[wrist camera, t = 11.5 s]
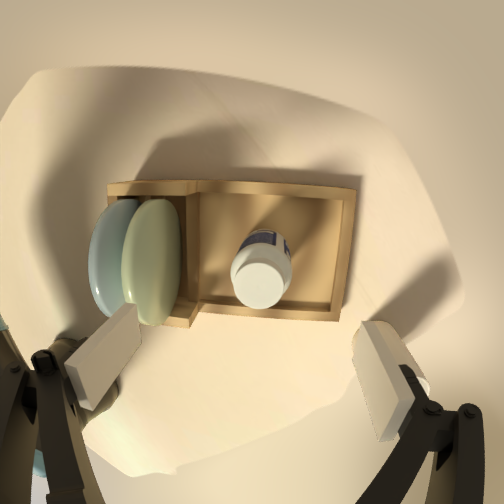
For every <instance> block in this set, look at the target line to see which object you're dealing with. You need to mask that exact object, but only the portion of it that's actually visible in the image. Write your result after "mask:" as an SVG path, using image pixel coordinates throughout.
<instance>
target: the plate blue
mask: <svg viewBox="0 0 504 504" xmlns="http://www.w3.org/2000/svg"><path fill="white" fill-rule="evenodd" d="M141 205H142V203H141V202H140V201H138V200H134V199H121V200H117V201H114V202H113V203H111V204H110V205H109V206H108V207H107V208H106V209H105V210H104V211H103V213H102V214H101V216H100V218H99V219H98V221H97V224H96V226H95V228H94V231H93V234H92V238H91V242H90V248H89V256H88V274H89V282H90V287H91V291H92V295H93V297H94V300H95V302H96V304H97V306H98V307H99V309H100V310H101V311H102V313H103V314H105V315H106V316H107V317H109V318H110V317H111V316H112V315H113V314H114V313H115V312H116V311H117V310H118V309H119V308H120V307H121V306H122V305H123V304H124V303H125V302H126V301H125V298H124V293H123V287H122V277H121V263H122V252H123V246H124V241H125V236H126V233H127V230H128V227H129V224H130V222H131V220H132V218H133V216H134V214H135V212H136V211H137V209H138V208H139V207H140V206H141Z"/></svg>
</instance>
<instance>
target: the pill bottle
mask: <svg viewBox="0 0 504 504" xmlns="http://www.w3.org/2000/svg"><path fill="white" fill-rule="evenodd" d="M230 274H231V280H232V283H233V286H234V291H235V294H236V296H237V298H238V299H239V300H240V301H241V302H242V303H243V304H244V305H246V306H248V307H250V308H254V309H265V308H269V307H271V306H273V305H274V304H276V303H277V302H278V301H279V300H280V298H281V297H282V295H283V294H284V293H285V292H286V290H287V289H288V287H289V285H290V283H291V279H292V265H291V256H290V249H289V246H288V243H287V241H286V240H285V238H284V237H283V236H282V235H281V234H279V233H278V232H276V231H274V230H270V229H259V230H256V231H253V232H252V233H250V234H249V235H248V236H247V237H246V238H245V239H244V241H243V242H242V244H241V246H240V248H239V250H238V252H237V254H236V256H235V258H234V260H233V262H232V265H231V273H230Z"/></svg>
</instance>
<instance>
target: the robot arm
mask: <svg viewBox="0 0 504 504" xmlns="http://www.w3.org/2000/svg"><path fill="white" fill-rule="evenodd" d="M8 329H9V327H8V326H7V325H6V324H5V322H4V320H3V318H2V316H1V314H0V504H31V485H32V473H33V474H35V475H37V476H40V477H44V478H45V477H47V481H48V485H49V490H50V493H49V494H46V502H47V504H105V502H104V499H103V497H102V494H101V492H100V489H99V486H98V484H97V481H96V478H95V476H94V473H93V470H92V467H91V463H90V460H89V457H88V454H87V451H86V447H85V444H84V440H83V436H82V433H81V432H82V430H83V429H84V427H85V426H86V424H87V423H88V422H89V421H90V420H92V419H93V418H95V417H96V416H98V415H99V414H100V413H102V412H104V411H106V410H108V409H109V408H110V407H111V406H112V405H113V403H114V402H115V400H116V398H117V396H118V387H117V384H116V381H115V379H116V378H117V376H118V375H119V373H120V372H121V371H122V369H123V368H124V366H125V365H126V364H127V362H128V361H129V359H130V358H131V357H132V355H133V354H134V353H135V351H136V350H137V348H138V347H139V346H140V344H141V343H142V339H141V333H140V326H139V319H138V312H137V304H134V303H127V302H125V303H124V304H123V305H122V306H121V307H120V308H119V309H118V310H117V311H116V312H115V313H114V314H113V315H112V316H111V317H110V318H109V319H108V320H107V321H106V322H105V323H104V324H103V325H102V326H100V327H99V328H98V329H97V330H96V331H95V332H94V333H93V334H92V335H91V336H90V337H89V338H86V337H85V338H83V339H81V340H79V341H78V342H77V341H75V340H72V339H68V338H61V339H58V340H57V341H55V342H54V343H53V344H52V345H51V346H50V347H49V348H48V349H47V350H40V351H37V352H36V353H34V354H33V355H32V357H31V361H32V364H33V366H34V369H35V370H30V368H29V367H28V365H27V363H26V362H25V360H24V358H23V357H22V355H21V353H20V351H19V349H18V347H17V346H16V344H15V342H14V340H13V338H12V336H11V334H10V332H9V330H8ZM352 361H353V364H354V367H355V370H356V373H357V376H358V379H359V382H360V384H361V388H362V391H363V394H364V397H365V400H366V403H367V406H368V410H369V413H370V416H371V419H372V423H373V426H374V429H375V433H376V436H377V440H378V442H382V441H390V440H394V438H395V436H396V434H397V433H399V436H400V440H399V442H398V443H397V445H396V446H395V448H394V449H393V451H392V453H391V454H390V456H389V457H388V459H387V460H386V462H385V464H384V465H383V466H382V468H381V470H380V471H379V473H378V474H377V475H376V477H375V478H374V479H373V481H372V482H371V484H370V485H369V486H368V488H367V489H366V490H365V492H364V493H363V494H362V495H361V497H360V498H359V499H358V501H357V502H356V503H355V504H400V503H401V502H402V500H403V498H404V497H405V495H406V493H407V492H408V490H409V488H410V486H411V485H412V483H413V481H414V479H415V477H416V475H417V473H418V471H419V469H420V468H421V466H422V463H423V462H424V460H425V457H426V455H427V453H428V451H432V452H434V458H433V465H432V471H431V477H430V482H429V487H428V492H427V497H426V501H425V504H483V496H484V477H485V455H484V453H485V450H484V430H483V418H482V412H481V410H480V409H479V408H478V407H477V406H476V405H474V404H470V403H466V404H463V405H461V406H460V408H459V409H458V411H446V410H443V407H442V406H441V405H440V404H439V403H437V402H435V401H431V400H429V398H428V396H427V394H426V392H425V391H424V389H423V387H422V385H421V383H419V380H418V378H416V377H417V376H416V375H415V373H414V371H413V370H412V369H411V368H410V367H409V366H408V365H406V364H402V365H398V364H397V362H396V360H395V358H394V356H393V354H392V353H391V351H390V349H389V347H388V345H387V344H386V342H385V340H384V338H383V336H382V335H381V333H380V331H379V329H378V328H377V326H376V324H375V322H374V321H361V325H360V330H359V334H358V338H357V342H356V346H355V350H354V354H353V358H352Z"/></svg>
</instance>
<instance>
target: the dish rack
mask: <svg viewBox="0 0 504 504" xmlns="http://www.w3.org/2000/svg"><path fill="white" fill-rule="evenodd" d="M356 191H357V190H355V189H350V188H340V187H329V186H318V185H305V184H291V183H275V182H256V181H230V180H134V181H126V182H118V183H111V184H107V197H108V206H109V205H110V204H111V203H113V202H114V201H117V200H121V199H134V200H138V201H140V202H141V203H142V204H143V203H144V202H145V201H147V200H151V199H165V200H168V201H170V202H171V203H172V204H173V206H174V207H175V209H176V211H177V214H178V216H179V220H180V225H181V231H182V241H183V261H182V273H181V280H180V286H179V290H178V295H177V298H176V301H175V304H174V307H173V309H172V311H171V313H170V315H169V317H168V318H167V320H166V321H165V322H164V323H163V324H161V325H166V326H173V327H180V328H188V329H189V328H190V327H191V325H192V323H193V321H194V319H195V318H196V316H197V314H198V312H207V313H216V314H227V315H237V316H249V317H262V318H276V319H292V320H311V321H335V322H339V318H340V313H341V307H342V301H343V296H344V290H345V283H346V277H347V270H348V263H349V256H350V248H351V240H352V232H353V223H354V213H355V203H356ZM259 229H270V230H274V231H276V232H278V233H279V234H281V235H282V236H283V237H284V238H285V240H286V241H287V243H288V246H289V249H290V256H291V265H292V279H291V283H290V285H289V287H288V289H287V290H286V292H285V293H284V294H283V295H282V297H281V298H280V300H279V301H278V302H277V303H276V304H274V305H273V306H271V307H269V308H265V309H254V308H250V307H248V306H246V305H244V304H243V303H242V302H241V301H240V300H239V299H238V298H237V296H236V294H235V291H234V286H233V283H232V280H231V274H230V273H231V265H232V262H233V260H234V258H235V256H236V254H237V252H238V250H239V248H240V246H241V244H242V242H243V241H244V239H245V238H246V237H247V236H248V235H249V234H250V233H252V232H253V231H256V230H259Z"/></svg>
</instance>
